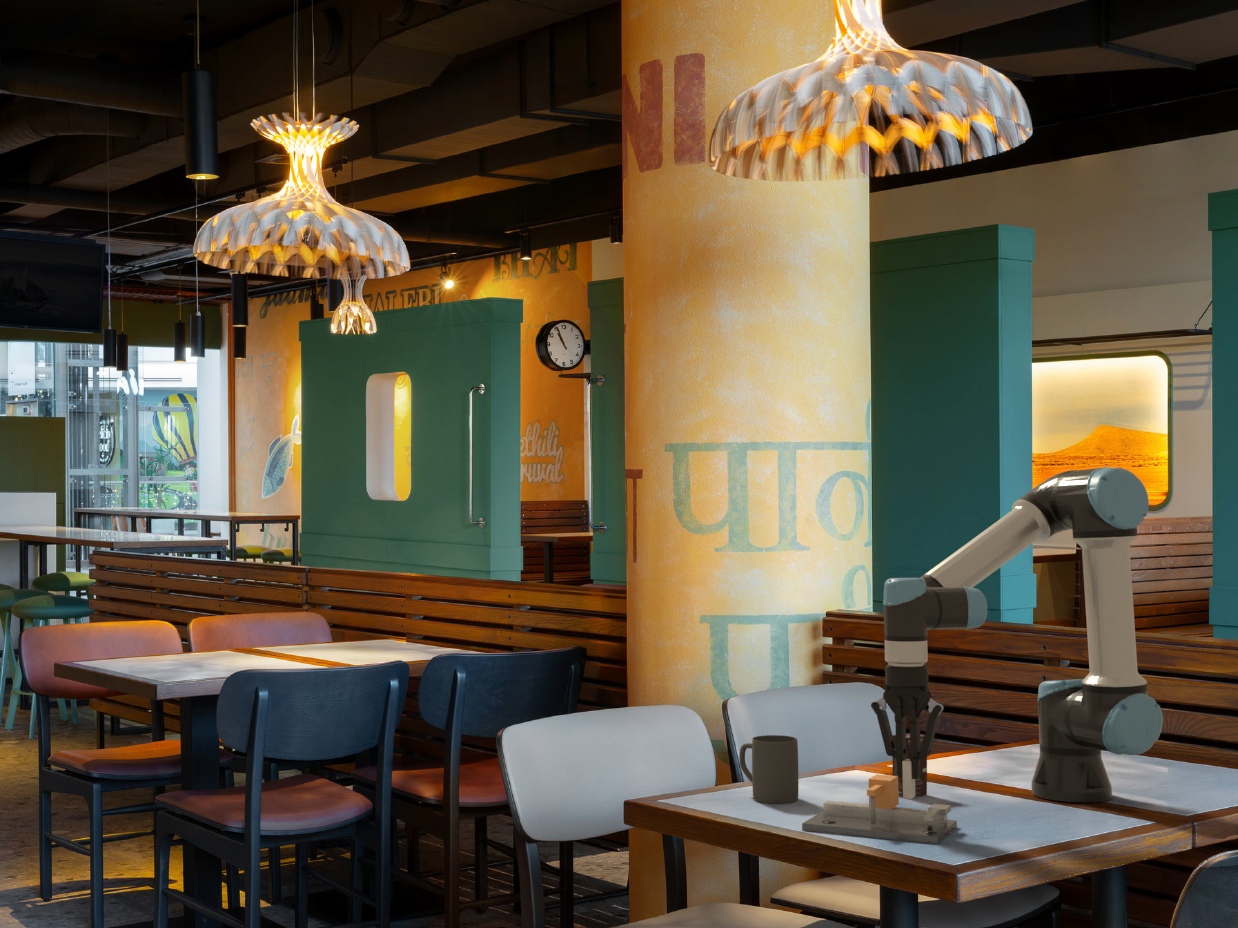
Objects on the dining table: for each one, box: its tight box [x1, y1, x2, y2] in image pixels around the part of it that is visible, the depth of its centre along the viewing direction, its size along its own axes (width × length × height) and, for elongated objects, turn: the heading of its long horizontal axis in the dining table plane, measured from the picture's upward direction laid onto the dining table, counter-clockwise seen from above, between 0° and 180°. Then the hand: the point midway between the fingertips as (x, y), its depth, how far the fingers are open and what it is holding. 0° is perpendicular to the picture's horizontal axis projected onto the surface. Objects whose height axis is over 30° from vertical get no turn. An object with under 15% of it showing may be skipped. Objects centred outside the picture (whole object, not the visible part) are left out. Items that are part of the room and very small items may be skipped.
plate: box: [801, 810, 958, 845], centre depth 227 cm, size 24×14×1 cm, turn 62°
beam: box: [823, 800, 952, 831], centre depth 227 cm, size 22×10×3 cm, turn 62°
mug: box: [738, 734, 799, 805], centre depth 255 cm, size 14×9×12 cm
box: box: [891, 732, 928, 798], centre depth 257 cm, size 6×4×12 cm
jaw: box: [866, 774, 900, 824], centre depth 227 cm, size 4×11×7 cm, turn 152°
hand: (909, 796), depth 228 cm, fingers closed
